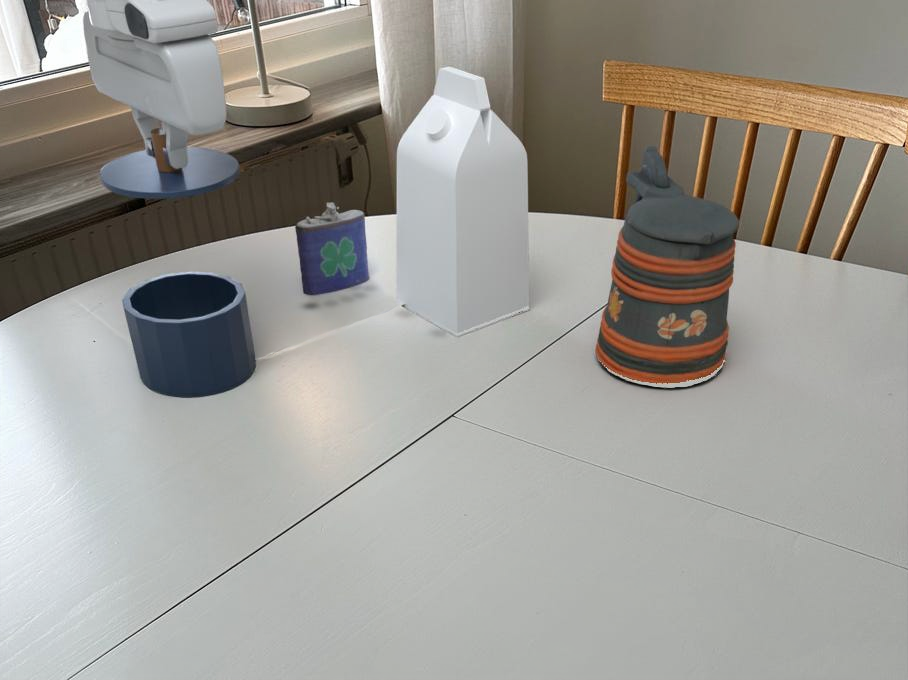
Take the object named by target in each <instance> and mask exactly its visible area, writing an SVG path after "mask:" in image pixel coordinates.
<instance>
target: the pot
mask: <svg viewBox="0 0 908 680" xmlns="http://www.w3.org/2000/svg"><path fill="white" fill-rule="evenodd" d="M121 301H122V308H123V311H124V315H125V320H126V323H127V328H128V333H129V336H130V340H131V343H132V344H131V345H132V349H133V353H134V357H135V362H136V366H137V370H138V373H139V378H140V380H141V382H142V383H143V385H144V386H145V387H146V388H148V389H149V390H151V391H153V392H155V393H157V394H160V395H164V396H168V397H176V398H200V397H207V396H212V395H217V394H221V393H224V392H227V391H229V390H232V389H234V388H236V387H239V386H241V385H242V384H243V383H246V381H248V379H250V378H251V376H252V375H253V373H254V372H255V369H256V362H257V360H256V354H255V347H254V341H253V334H252V327H251V321H250V314H249V308H248V302H247V295H246V291H245V289H244V287H243V284H242V283H241V282H239V281H238V280H236V279H234V278H233V277H231V276H229V275H224V274H220V273H216V272H212V271H211V272H210V271H182V272H173V273H166V274H165V273H164V274H162V275H158V276H155V277H152V278H148V279H145V280H143V281H141V282H140V283H138V284H136V285H134V286H132V287H131V288H129V289H128V291H126V293H125V295H124V296H123V297H122V299H121Z"/></svg>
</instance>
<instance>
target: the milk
mask: <svg viewBox="0 0 908 680" xmlns="http://www.w3.org/2000/svg"><path fill="white" fill-rule="evenodd" d="M528 174H529V171H528V153H527V151H526V148H525V146H524V145H523V142H522V141H521V140H520V139H519V138H518V137H517V135H516V134H515V133H514V132H513V131H512V130H511V129H510V128H509V127H508V126H507V124H506V123H504V121H502V119H501V118H500V117H499V116H498V114H496V113H495V112H494V111H493V110H492V109H491V103H490V99H489V93H488V89H487V85H486V80H485V77H482V76H480V75H476V74H473V73H470V72H467V71H465V70H462V69H458V68H456V67H452V66H445V67H440V68H439V70H438V73H437V78H436V82H435V85H434V89H433V95H431V97H430V98H429V99H428V100H427V102H426V103H425V104H424V106H423V107H422V108H421V110H420V112H418V114H417V115H416V117H415V118H414V119H413V121H412V123H410V125H409V126H408V128H407V129H406V130H405V131H404V133H403V134H402V136H401V138H400V140H399V143H398V145H397V149H396V269H395V270H396V272H395V273H396V275H395V277H396V280H395V281H396V287H395V289H396V292H395V293H396V294H395V295H396V297H395V298H396V300H397V301H399V302H401V303H403V304H402V305H401V307H403V308H405V309H406V310H408V311H410V312H412V313H414V314H415V315H417V316H419V317H420V318H422V319H424V320H426V321H428V322H429V323H431V324H433V325H435V326H436V327H439V328H440V329H442V330H444V331H446V332H447V333H449V334H451V335H452V336H454V337H457V338H459V337H462V336H464V335H467V334H470V333H472V332H475V331H478V330H480V329H483V328H486V327H488V326H490V325H493V324H496V323H500V322H501V321H504V320H507V319H509V318H512V317H514V316H517V315H520V314H523V313H525V312H528V311H530V308H529V309H528V310H525V311H523V312H520V313H517V314H515V315H512V316H509V317H507V318H504V319H501V320H499V321H496V322H493V323H490V324H488V325H485V326H482V327H480V328H477V329H474V330H472V331H469V332H466V333H464V334H461V335H458V336H457V335H455V334H453V333H451V332H449V331H448V330H446V329H444V328H442V327H441V326H439V325H437V324H435V323H433V322H432V321H430V320H433V321H435V322H437V323H438V324H440V325H442V326H445V327H446V328H448V329H450V330H451V331H454V332H455V333H460V332H463V331H464V330H468V329H470V328H472V327H475V326H478V325H480V324H483V323H485V322H489V321H491V320H494V319H496V318H498V317H501V316H503V315H506V314H509V313H512V312H514V311H517V310H520V309H522V308H524V307H526V306H529V307H530V251H529V250H530V247H529V246H530V245H529V243H530V242H529V179H528V178H529V177H528V176H529V175H528ZM410 309H411V310H410ZM412 310H413V311H412ZM414 311H415V312H414ZM416 312H417V313H419V314H420V315H419V314H417V313H416ZM421 315H423V316H424V317H423V316H421ZM425 317H427V318H429V319H430V320H428V319H426V318H425Z"/></svg>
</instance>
